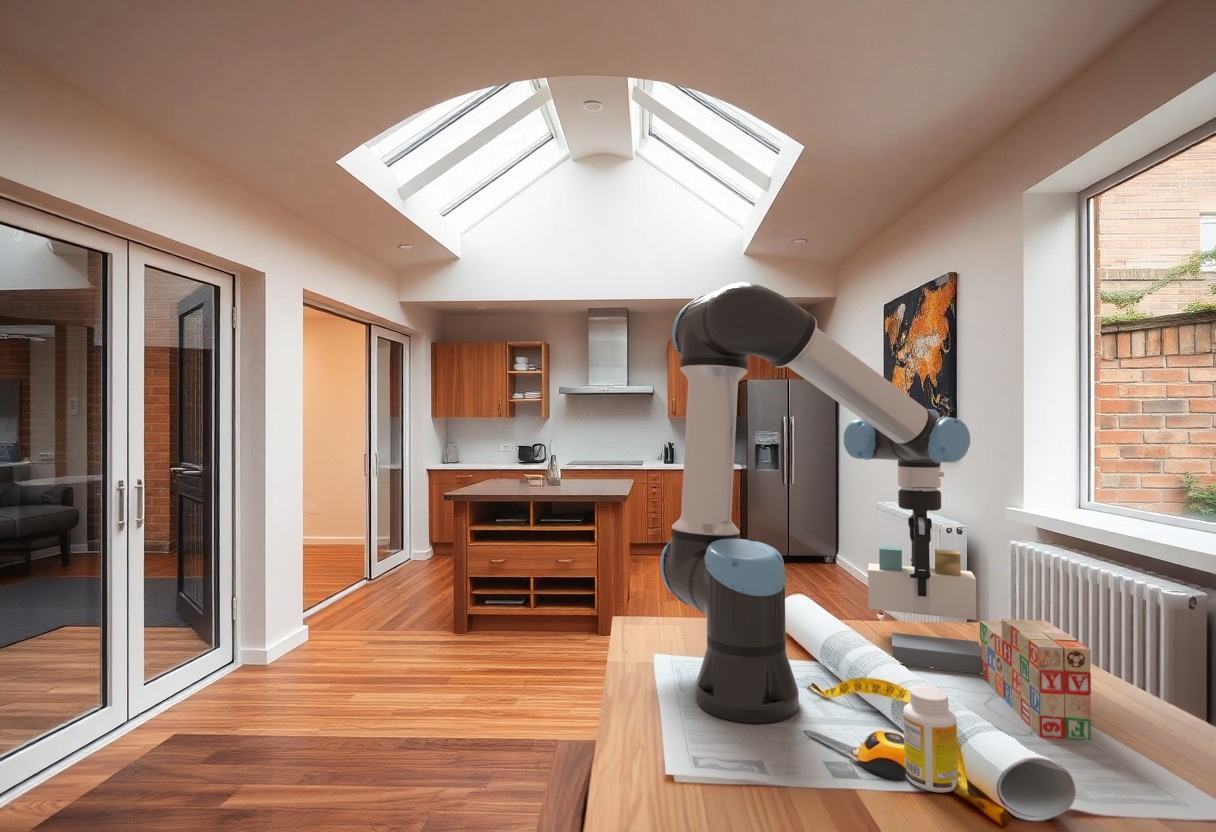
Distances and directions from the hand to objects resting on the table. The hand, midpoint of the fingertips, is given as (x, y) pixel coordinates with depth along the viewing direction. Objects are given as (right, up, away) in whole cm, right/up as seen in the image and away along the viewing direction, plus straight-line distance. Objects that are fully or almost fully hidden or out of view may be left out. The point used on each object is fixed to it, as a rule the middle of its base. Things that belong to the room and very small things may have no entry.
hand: (920, 607), depth 125 cm
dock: (-3, -6, -12) cm, 13 cm away
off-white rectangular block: (0, 0, 0) cm, 0 cm away
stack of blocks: (+2, -6, -30) cm, 31 cm away
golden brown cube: (+4, +7, -2) cm, 8 cm away
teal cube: (-5, +7, +2) cm, 9 cm away
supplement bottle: (-23, -6, -50) cm, 55 cm away
